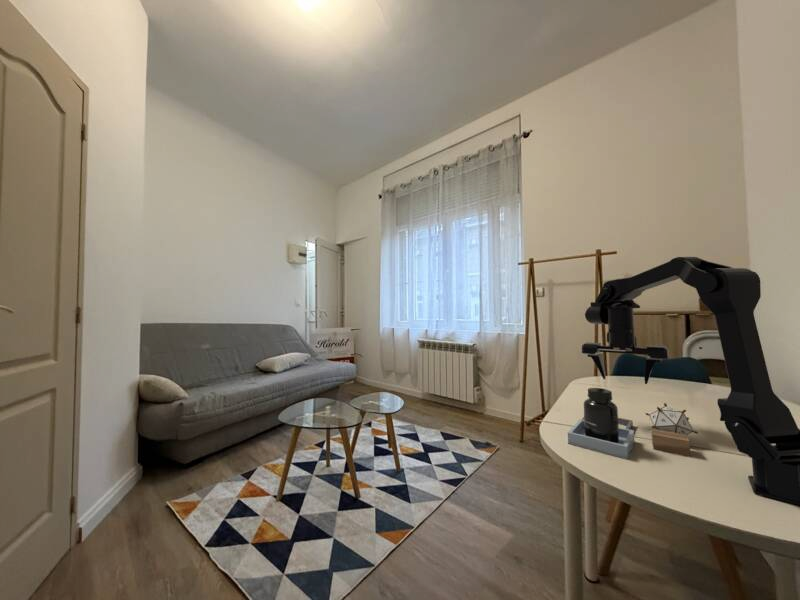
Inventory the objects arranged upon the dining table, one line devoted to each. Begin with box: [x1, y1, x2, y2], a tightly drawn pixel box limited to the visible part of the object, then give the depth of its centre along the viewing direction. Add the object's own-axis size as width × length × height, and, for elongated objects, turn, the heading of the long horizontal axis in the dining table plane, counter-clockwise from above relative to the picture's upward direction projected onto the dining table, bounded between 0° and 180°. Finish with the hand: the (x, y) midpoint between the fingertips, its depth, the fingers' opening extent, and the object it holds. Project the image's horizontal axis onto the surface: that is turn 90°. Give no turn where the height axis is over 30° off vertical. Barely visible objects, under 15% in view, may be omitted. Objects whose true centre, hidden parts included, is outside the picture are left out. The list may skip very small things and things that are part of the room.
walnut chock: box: [650, 428, 691, 458], centre depth 65 cm, size 4×6×4 cm, turn 52°
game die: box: [645, 402, 699, 436], centre depth 71 cm, size 9×8×10 cm
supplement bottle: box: [583, 387, 620, 443], centre depth 70 cm, size 7×7×12 cm
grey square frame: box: [580, 416, 634, 430], centre depth 79 cm, size 10×10×2 cm
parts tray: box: [567, 419, 636, 460], centre depth 70 cm, size 11×11×3 cm
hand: (624, 381), depth 80 cm, fingers open, 9 cm apart
